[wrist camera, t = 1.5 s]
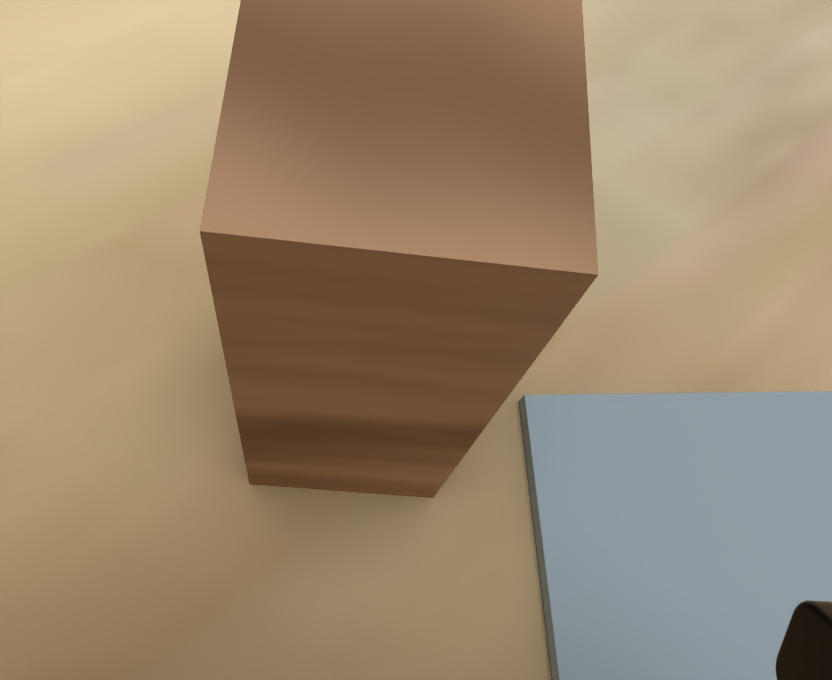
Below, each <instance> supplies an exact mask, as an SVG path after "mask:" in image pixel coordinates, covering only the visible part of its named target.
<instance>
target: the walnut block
mask: <svg viewBox="0 0 832 680" xmlns="http://www.w3.org/2000/svg"><path fill="white" fill-rule="evenodd" d="M200 235H201V240H202V245H203V250H204V255H205V260H206V265H207V270H208V275H209V280H210V285H211V290H212V296H213V301H214V306H215V311H216V316H217V321H218V326H219V331H220V336H221V341H222V346H223V351H224V356H225V362H226V367H227V372H228V377H229V382H230V387H231V392H232V397H233V402H234V407H235V412H236V417H237V422H238V428H239V433H240V438H241V443H242V448H243V453H244V458H245V463H246V468H247V473H248V478H249V483H250V484H257V485H271V486H284V487H297V488H311V489H324V490H338V491H351V492H365V493H378V494H391V495H405V496H418V497H432V498H433V497H434V495H435V494H436V493H437V491H438V490H439V489H440V487H441V486H442V485H443V483H444V482H445V481H446V479H447V478H448V476H449V475H450V474H451V472H452V471H453V470H454V468H455V467H456V466H457V464H458V463H459V462H460V460H461V459H462V458H463V456H464V455H465V454H466V452H467V451H468V450H469V448H470V447H471V445H472V444H473V443H474V441H475V440H476V439H477V437H478V436H479V435H480V433H481V432H482V431H483V429H484V428H485V427H486V425H487V424H488V423H489V421H490V420H491V418H492V417H493V416H494V414H495V413H496V412H497V410H498V409H499V408H500V406H501V405H502V404H503V402H504V401H505V400H506V398H507V397H508V396H509V394H510V393H511V392H512V390H513V389H514V387H515V386H516V385H517V383H518V382H519V381H520V379H521V378H522V377H523V375H524V374H525V373H526V371H527V370H528V369H529V367H530V366H531V365H532V363H533V362H534V361H535V359H536V358H537V356H538V355H539V354H540V352H541V351H542V350H543V348H544V347H545V346H546V344H547V343H548V342H549V340H550V339H551V338H552V336H553V335H554V334H555V332H556V331H557V329H558V328H559V327H560V325H561V324H562V323H563V321H564V320H565V319H566V317H567V316H568V315H569V313H570V312H571V311H572V309H573V308H574V307H575V305H576V304H577V303H578V301H579V300H580V298H581V297H582V296H583V294H584V293H585V292H586V290H587V289H588V288H589V286H590V285H591V284H592V282H593V281H594V280H595V278H596V277H597V276H598V264H597V248H596V231H595V214H594V197H593V181H592V164H591V147H590V130H589V114H588V97H587V80H586V63H585V46H584V30H583V13H582V0H241V3H240V9H239V14H238V20H237V25H236V31H235V37H234V42H233V48H232V53H231V59H230V65H229V70H228V76H227V81H226V87H225V93H224V98H223V104H222V109H221V115H220V121H219V126H218V132H217V137H216V143H215V149H214V154H213V160H212V166H211V171H210V177H209V182H208V188H207V194H206V199H205V205H204V210H203V216H202V222H201V227H200Z"/></svg>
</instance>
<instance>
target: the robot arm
mask: <svg viewBox="0 0 832 680" xmlns="http://www.w3.org/2000/svg"><path fill="white" fill-rule="evenodd" d="M776 677H777V680H832V602H828V601H811V600H807V601H803V602H801V603H799V604H798V605H797V606H796V607H795V609H794V611H793V614H792V617H791V619H790V622H789V625H788V628H787V630H786V633H785V636H784V638H783V641H782V644H781V647H780V649H779V652H778V655H777V658H776Z"/></svg>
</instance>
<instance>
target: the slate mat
mask: <svg viewBox="0 0 832 680" xmlns="http://www.w3.org/2000/svg"><path fill="white" fill-rule="evenodd" d="M519 405H520V414H521V422H522V430H523V439H524V447H525V455H526V464H527V472H528V481H529V489H530V497H531V506H532V514H533V522H534V531H535V539H536V547H537V556H538V564H539V572H540V581H541V589H542V597H543V606H544V614H545V622H546V631H547V639H548V647H549V656H550V664H551V672H552V680H777V677H776V658H777V655H778V652H779V649H780V647H781V644H782V641H783V638H784V636H785V633H786V630H787V628H788V625H789V622H790V619H791V617H792V614H793V611H794V609H795V607H796V606H797V605H798V604H799V603H801V602H803V601H807V600H811V601H828V602H832V391H826V392H737V393H649V394H560V395H524V396H523V397H522V399H521V400H520V401H519Z"/></svg>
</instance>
